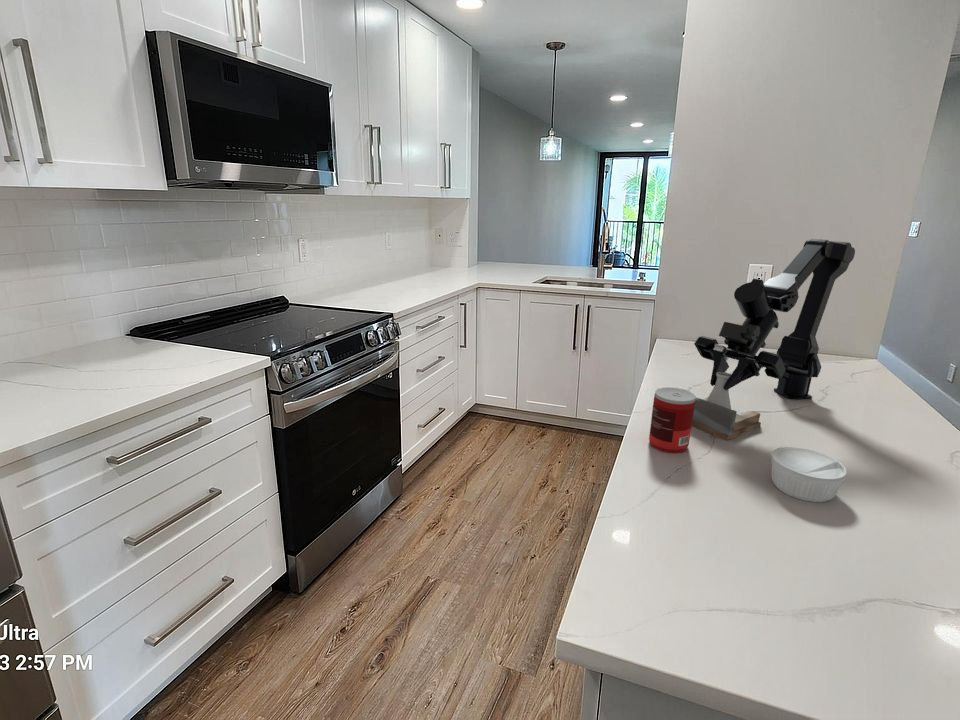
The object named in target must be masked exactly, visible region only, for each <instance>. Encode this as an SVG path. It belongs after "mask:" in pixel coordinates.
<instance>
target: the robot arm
mask: <svg viewBox="0 0 960 720" xmlns="http://www.w3.org/2000/svg"><path fill="white" fill-rule="evenodd" d="M855 254H856V249H855V248H854V247H853V246H852V244H851V242H846V241H834V240H833V241H831V240H829V239H822V238H821V239H818V238H810V239H807V240H806V241H804V244H803V247H802V248H801V250H800V251H799V253H797V255H796V256H795V257H794V258H793V259H792V260H791V262H790V263H789V264H788V265H787V266H786V268H784V270H783V271H782V272H781V273H780V274H779V275H777V276H773V277H771V278H769V279H767V280H766V281H765V282H764V280H763V279H760V278H752V280H751V282H750V281H749V282H745V283H744V284H741V285H740V286H739V287H737V288H736V289H735V291H734V293H733V297H734V299H735V302H736V303H737V304H736V305H737V306H738V309H739V310H740V314H742V316H744V317H745V319H744V321H743V323H742V324H738V323H733V322H728V321H724V322H723V324H722V327H721V328H720V331H719V334H718V336H719V337H722V338H724V341H723V342H724V345H722V344H719V342H718V340H717V339H716V338H712V337H708V336H705V335H704V336H703V335H700V336H699V337H698V338H696V340H695V342H694V343H693V345H694V346H695V348H696V350H697V351H698V353H699V355H700V357H702V358H703V359H706V360H709V361H713V365H712V366H713V367H712V371H711V372H712V373H711V378H710V382H709V383H710V386H711V387H714V385H715V383H716V380H717V376H716V373H717V372H726V373H727V371H728V370H729V367H730V365H729V364H728V359H732V360H735V361H736V360H737V365H736V367H735V369H734V370H733V371H732V372H731V373H730V374H731V376H730V377H729V379H728V380H727V382H726V384H725V386H724V389H725V390H728V389H729V390H730V389H732V388H733V387H735V386H737V385H738V384H741V383H742V382H744V381H746V380H748V379H751V378H752V377H759V376H760V371H761V369H763V368H765V369H764V373H765V374H766V376H767V377H770V378H774V379H777V380H778V381H777V387H776V388H775V387H774V388H773V391H774V392H776V393H778V394H780V395H782V396H783V397H785V398H787V399H789V400H794V399H797V400H799V399H813V396H812V395H810V394H809V392H810V387H811V382H812V378H818V377H819V375H820V373H821V369H822V364H821V361H820V359H819V356H818V354H819V351H820V348H819V344H818V340H817V338H816V335H817V333H818V330H819V327H820V324H821V321H822V319H823V316H824V313H825V310H826V308H827V304H828V301H829V299H830V296H831V292H832V291H833V287H834V284H835V281H836V280H837V279H838V278H840V277H841V276H842V275H844V273H845V272H847V270H848V268H849V266H850V264H851V262H852V261H853V260H854V258H855ZM811 274H812V278H811V281H810V284H809V287H808V289H807V292H806V295H805V299H804V301H803V304H802V307H801V310H800V312H799V315H798V318H797V321H796V324H795V327H794V330H793V332H791V333H790V334H789V335H784V336H783V337H782V339H781V343H780V345H779V347H778V349H777V351H776V353H774V352H769V351H765V350H762V351H760V349H761V348H763V349H764V348H765V346H766V345H767V343H766V339H767V338H768V337H769V335H770V333H771V332H772V330H773V329H774V328H775V329H778V328H779V326H780V323H779V321H778V320H779V317H778V315H777V313H776V312H775V311H777V312H782V313H788V312H790V311H791V310H792V309H793V308H794V307H795V306H796V304H797V302H798V300H799V289H800V288H801V286H802V285H803V284H804V283H805V282H806V281H807V280H808V278H809V277H810V276H811ZM725 345H727V347H726V346H725ZM759 351H760V352H759ZM758 352H759V353H758ZM757 353H758V354H757Z"/></svg>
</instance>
